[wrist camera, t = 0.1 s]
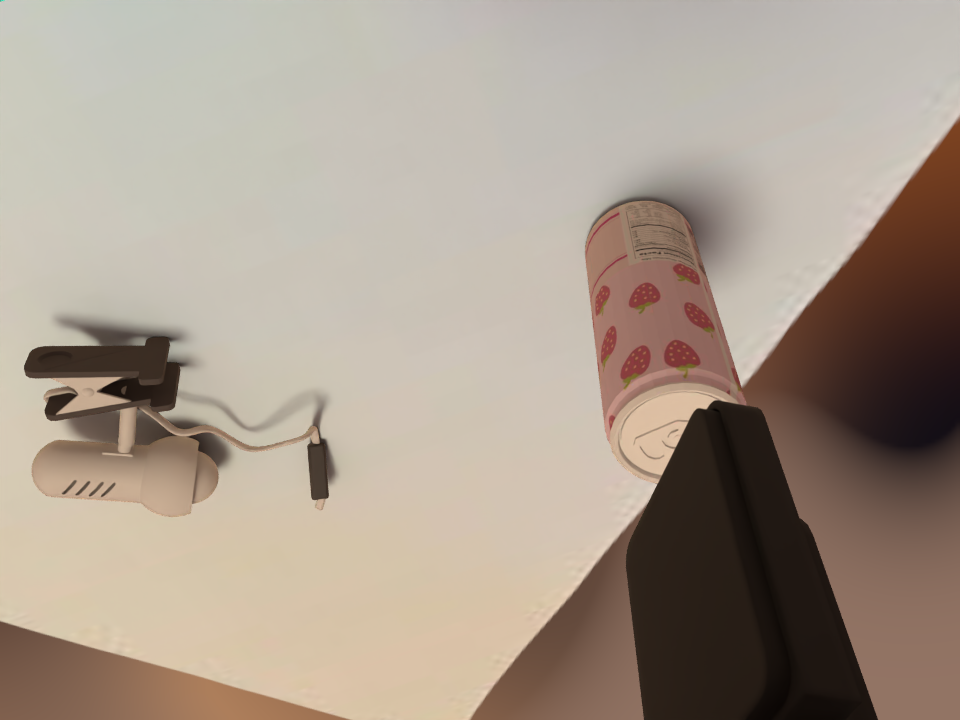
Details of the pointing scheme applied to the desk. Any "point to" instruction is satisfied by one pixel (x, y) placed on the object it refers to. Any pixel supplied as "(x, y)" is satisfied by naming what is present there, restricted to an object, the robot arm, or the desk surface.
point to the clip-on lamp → (133, 431)
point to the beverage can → (653, 333)
